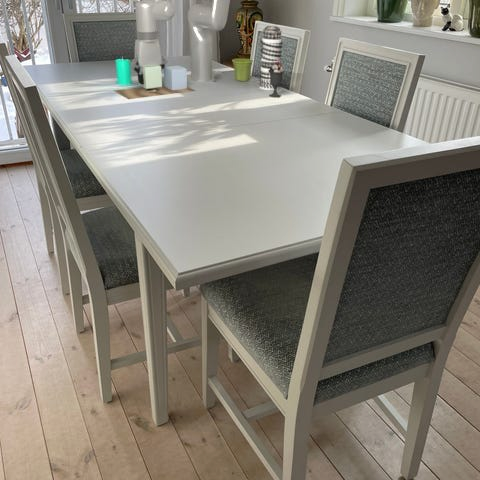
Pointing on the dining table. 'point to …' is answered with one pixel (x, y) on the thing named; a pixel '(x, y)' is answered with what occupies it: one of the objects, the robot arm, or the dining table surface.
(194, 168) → the dining table surface
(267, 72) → the decorative candle
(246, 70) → the plant pot
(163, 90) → the board
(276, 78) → the sundae
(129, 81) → the candle
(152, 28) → the robot arm
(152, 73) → the pale green block
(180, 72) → the blue cover
